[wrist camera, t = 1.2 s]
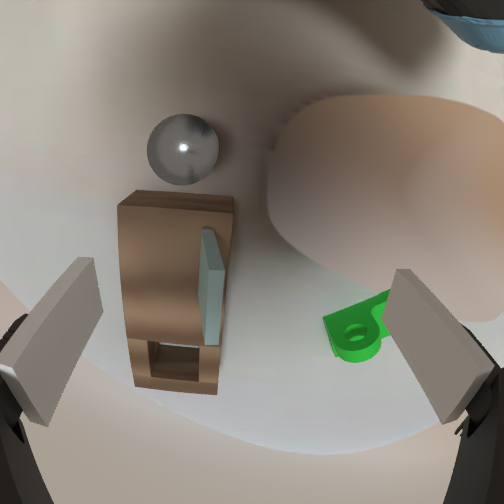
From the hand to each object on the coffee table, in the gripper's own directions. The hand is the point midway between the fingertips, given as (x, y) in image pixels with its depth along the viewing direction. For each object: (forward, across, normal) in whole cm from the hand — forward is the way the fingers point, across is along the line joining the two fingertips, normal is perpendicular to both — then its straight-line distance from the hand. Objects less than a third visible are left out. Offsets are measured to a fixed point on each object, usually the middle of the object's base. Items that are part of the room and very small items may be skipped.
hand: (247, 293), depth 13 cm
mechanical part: (+20, +18, -16) cm, 31 cm away
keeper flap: (+13, -3, -5) cm, 14 cm away
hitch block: (+19, -6, -12) cm, 24 cm away
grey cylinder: (+20, -4, +4) cm, 21 cm away
